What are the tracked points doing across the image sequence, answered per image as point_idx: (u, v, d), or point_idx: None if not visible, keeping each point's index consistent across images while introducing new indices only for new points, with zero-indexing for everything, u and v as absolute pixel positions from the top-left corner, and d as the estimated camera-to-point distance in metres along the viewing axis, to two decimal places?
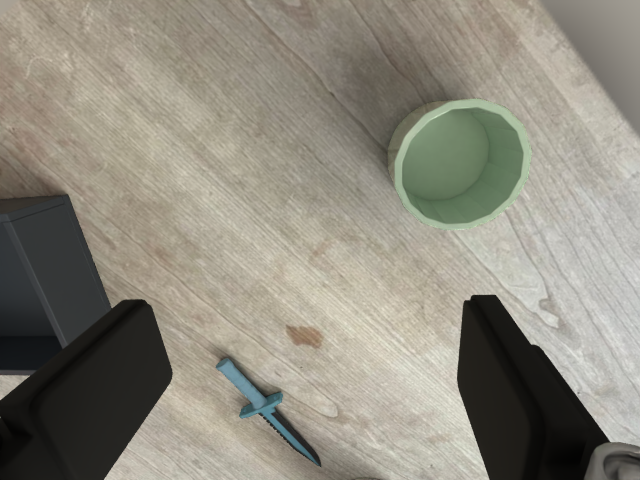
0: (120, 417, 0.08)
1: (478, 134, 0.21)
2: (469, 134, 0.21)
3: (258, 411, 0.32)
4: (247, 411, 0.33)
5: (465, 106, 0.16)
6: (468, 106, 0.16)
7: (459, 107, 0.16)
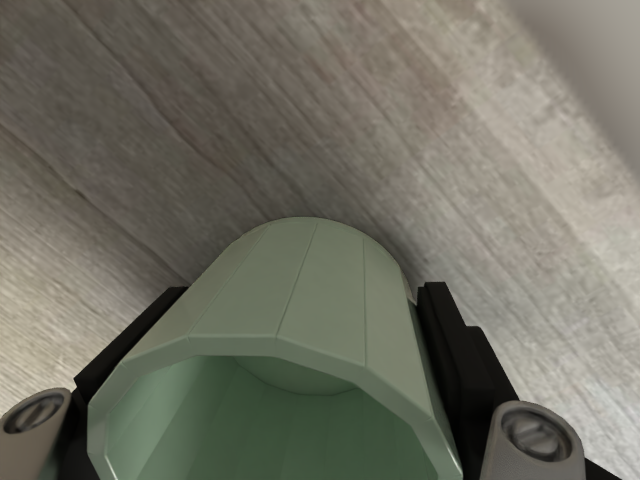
0: None
1: None
2: None
3: None
4: None
5: (237, 352, 0.05)
6: (245, 354, 0.05)
7: (218, 354, 0.05)
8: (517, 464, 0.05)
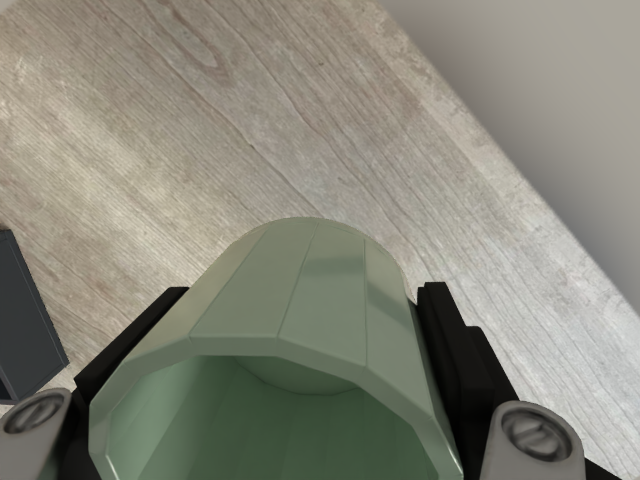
0: None
1: None
2: None
3: None
4: None
5: (238, 352, 0.05)
6: (247, 353, 0.05)
7: (219, 354, 0.05)
8: (517, 464, 0.05)
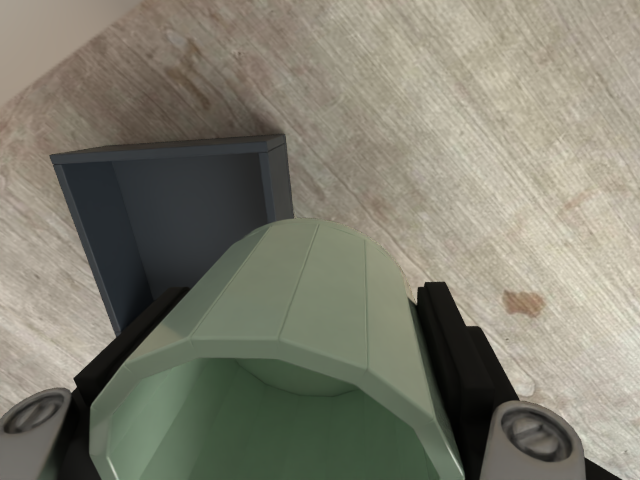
0: None
1: None
2: None
3: None
4: None
5: (239, 354, 0.05)
6: (248, 356, 0.05)
7: (220, 356, 0.05)
8: (517, 464, 0.05)
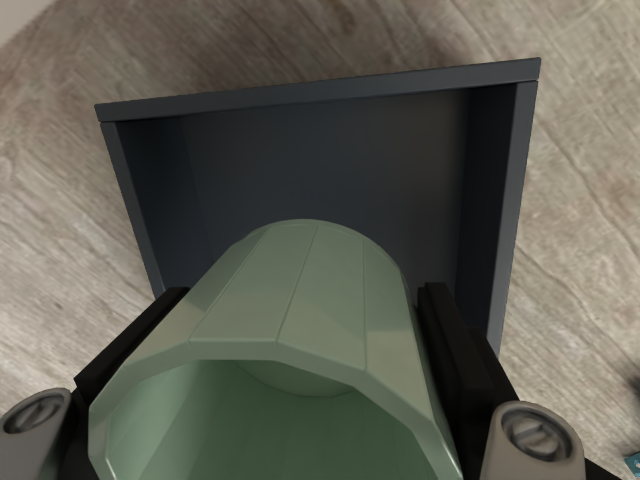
0: None
1: None
2: None
3: None
4: None
5: (238, 356, 0.05)
6: (246, 357, 0.05)
7: (219, 358, 0.05)
8: (517, 464, 0.05)
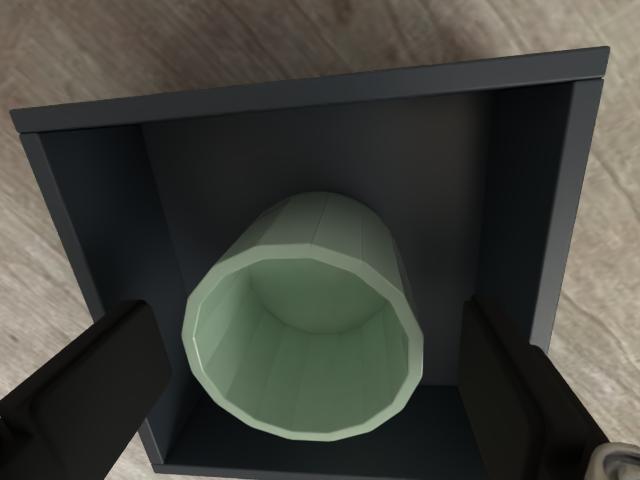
0: (120, 417, 0.08)
1: None
2: None
3: None
4: None
5: (287, 256, 0.08)
6: (292, 256, 0.08)
7: (275, 257, 0.08)
8: None
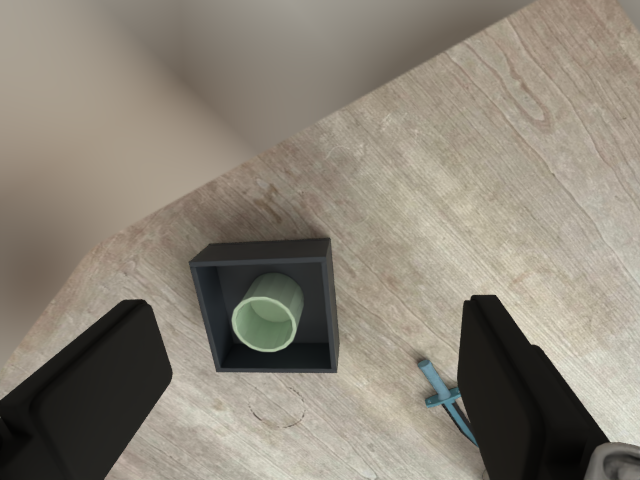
0: (120, 417, 0.08)
1: None
2: None
3: (444, 401, 0.41)
4: (433, 401, 0.42)
5: (259, 299, 0.33)
6: (260, 299, 0.33)
7: (256, 299, 0.33)
8: None
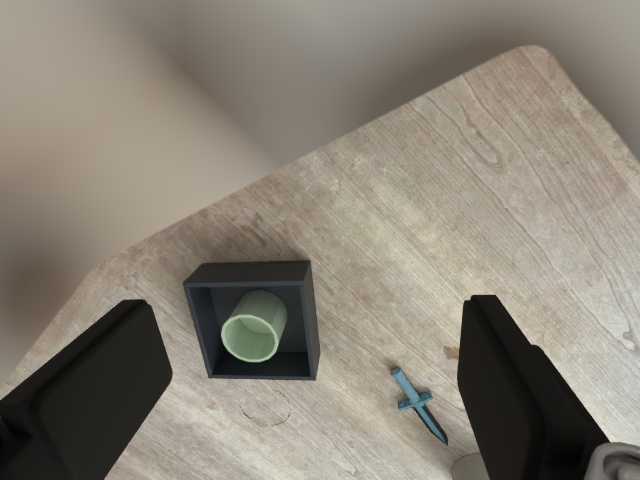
0: (120, 417, 0.08)
1: None
2: None
3: (414, 405, 0.46)
4: (405, 405, 0.46)
5: (245, 317, 0.37)
6: (246, 317, 0.37)
7: (242, 317, 0.37)
8: None
